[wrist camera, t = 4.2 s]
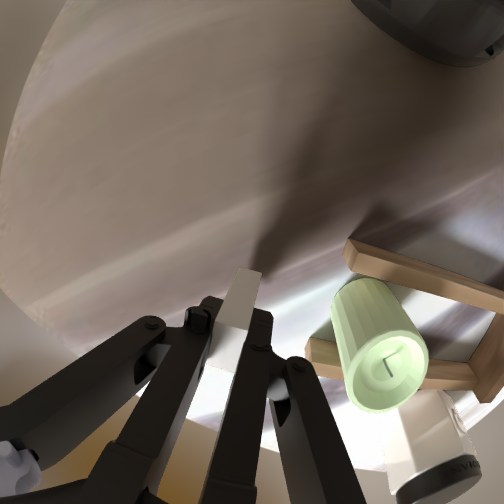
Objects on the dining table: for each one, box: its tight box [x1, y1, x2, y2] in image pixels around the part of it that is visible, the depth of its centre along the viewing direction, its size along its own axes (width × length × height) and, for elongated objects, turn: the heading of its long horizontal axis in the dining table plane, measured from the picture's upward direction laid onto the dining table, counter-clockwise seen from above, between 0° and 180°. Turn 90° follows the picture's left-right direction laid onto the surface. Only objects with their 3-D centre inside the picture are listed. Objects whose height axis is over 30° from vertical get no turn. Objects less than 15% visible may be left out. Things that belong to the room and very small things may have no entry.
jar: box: [377, 389, 482, 504], centre depth 17 cm, size 9×8×12 cm
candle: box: [330, 278, 429, 413], centre depth 16 cm, size 5×5×8 cm
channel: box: [305, 238, 504, 403], centre depth 17 cm, size 9×20×5 cm, turn 76°
